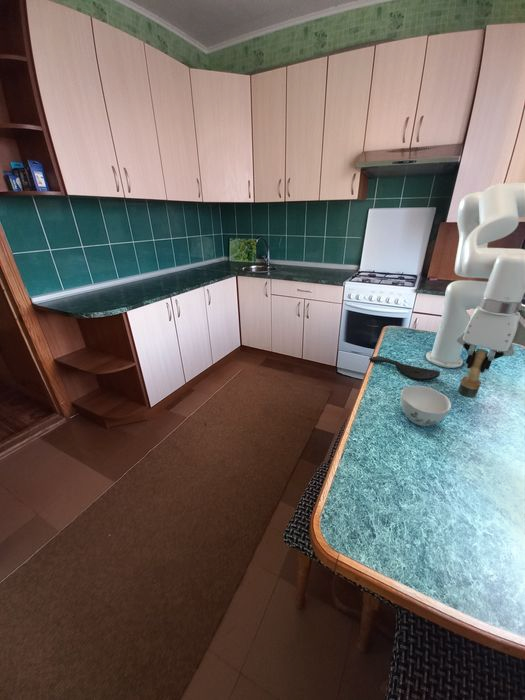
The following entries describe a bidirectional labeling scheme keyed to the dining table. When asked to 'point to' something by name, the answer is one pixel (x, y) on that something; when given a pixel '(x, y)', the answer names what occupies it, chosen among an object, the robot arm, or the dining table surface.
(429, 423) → the teacup
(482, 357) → the dish brush
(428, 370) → the hairbrush
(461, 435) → the dining table surface
